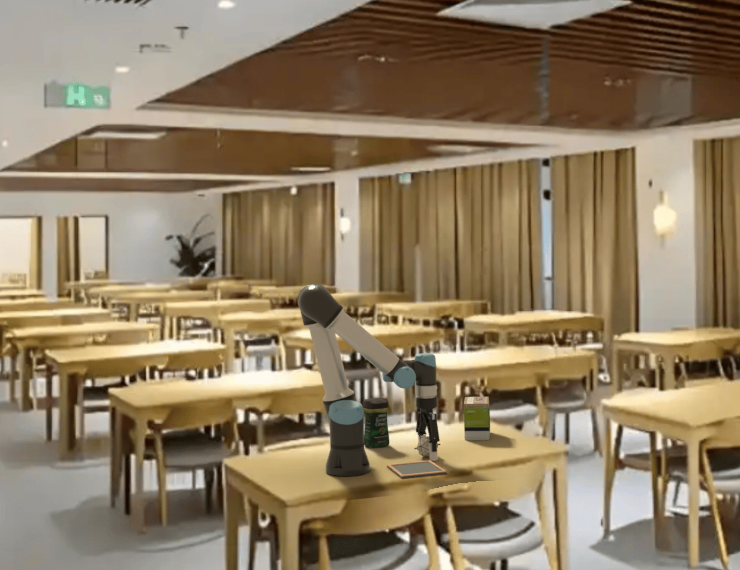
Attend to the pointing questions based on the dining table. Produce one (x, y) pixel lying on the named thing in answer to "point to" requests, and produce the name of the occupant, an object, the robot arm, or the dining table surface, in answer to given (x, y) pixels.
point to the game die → (424, 446)
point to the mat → (416, 469)
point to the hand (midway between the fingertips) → (428, 456)
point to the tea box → (477, 418)
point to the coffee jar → (376, 422)
